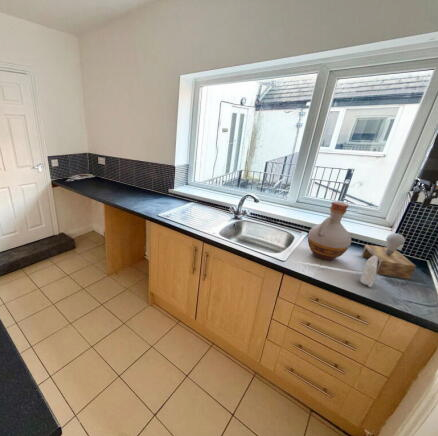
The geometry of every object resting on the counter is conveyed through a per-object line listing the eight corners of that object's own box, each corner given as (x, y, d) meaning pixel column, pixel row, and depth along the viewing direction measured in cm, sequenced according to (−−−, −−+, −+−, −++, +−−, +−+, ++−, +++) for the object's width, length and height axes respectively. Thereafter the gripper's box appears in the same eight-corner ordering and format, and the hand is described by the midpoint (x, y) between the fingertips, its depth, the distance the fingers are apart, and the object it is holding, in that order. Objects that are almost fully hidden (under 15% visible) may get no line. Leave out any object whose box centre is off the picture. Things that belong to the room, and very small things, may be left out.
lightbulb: (401, 257, 114) (411, 237, 110) (388, 257, 115) (397, 236, 110) (389, 251, 120) (398, 231, 116) (377, 250, 120) (385, 231, 116)
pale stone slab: (360, 271, 114) (369, 251, 110) (372, 274, 112) (381, 254, 108) (359, 283, 106) (368, 262, 102) (372, 287, 104) (381, 265, 99)
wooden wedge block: (389, 260, 126) (394, 248, 123) (409, 279, 110) (416, 265, 107) (361, 256, 130) (365, 244, 127) (376, 273, 114) (382, 260, 111)
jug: (327, 270, 117) (347, 212, 105) (293, 252, 132) (307, 200, 120) (351, 261, 124) (372, 206, 113) (316, 245, 139) (332, 195, 128)
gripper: (457, 171, 98) (440, 209, 104) (433, 166, 111) (419, 201, 116) (433, 170, 101) (418, 207, 106) (411, 166, 113) (399, 199, 119)
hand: (418, 204), depth 111 cm, fingers open, 8 cm apart
